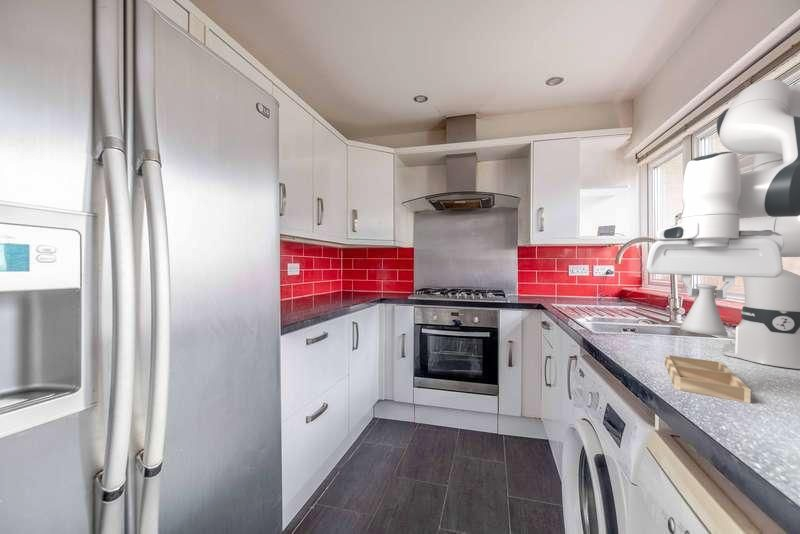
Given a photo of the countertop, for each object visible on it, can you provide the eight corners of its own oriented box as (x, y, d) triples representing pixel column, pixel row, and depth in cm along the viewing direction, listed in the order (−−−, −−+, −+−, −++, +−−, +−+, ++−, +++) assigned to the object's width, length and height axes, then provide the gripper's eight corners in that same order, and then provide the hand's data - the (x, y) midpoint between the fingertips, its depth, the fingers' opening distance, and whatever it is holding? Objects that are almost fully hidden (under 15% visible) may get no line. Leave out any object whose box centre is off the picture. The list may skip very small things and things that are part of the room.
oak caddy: (664, 364, 82) (664, 354, 82) (722, 372, 76) (722, 362, 75) (675, 389, 65) (675, 377, 65) (750, 403, 59) (750, 389, 59)
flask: (736, 338, 62) (741, 287, 62) (691, 334, 64) (695, 284, 64) (712, 331, 69) (716, 285, 69) (672, 327, 71) (675, 282, 71)
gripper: (777, 231, 63) (774, 301, 63) (646, 234, 74) (644, 293, 75) (791, 227, 57) (788, 303, 58) (648, 231, 69) (645, 294, 69)
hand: (706, 297), depth 66 cm, fingers closed on flask, 3 cm apart
